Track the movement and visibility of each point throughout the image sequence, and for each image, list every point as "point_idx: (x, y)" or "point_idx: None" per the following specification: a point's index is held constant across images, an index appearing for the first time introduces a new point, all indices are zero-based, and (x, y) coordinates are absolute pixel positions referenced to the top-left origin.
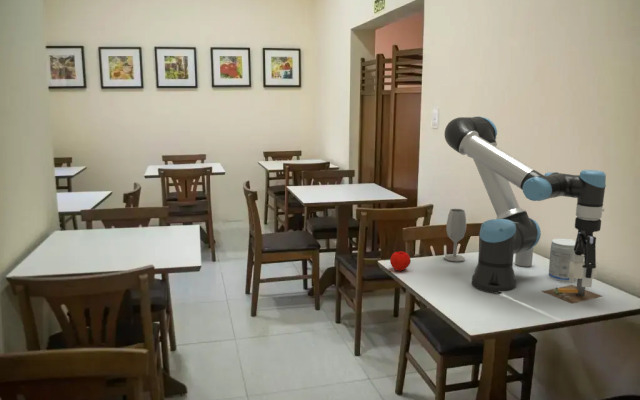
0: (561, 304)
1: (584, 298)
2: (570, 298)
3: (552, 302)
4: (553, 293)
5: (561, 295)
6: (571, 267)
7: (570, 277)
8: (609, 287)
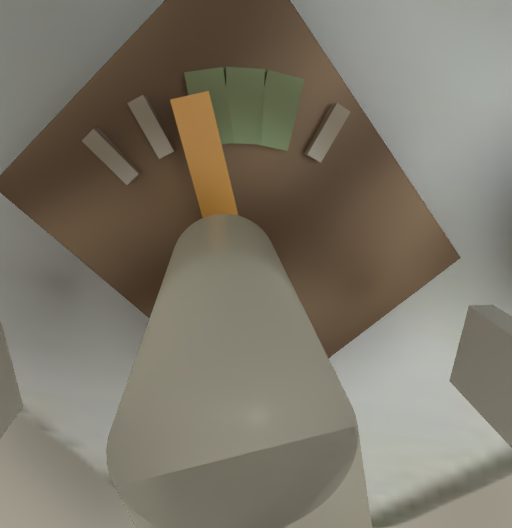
0: (19, 97)
1: None
2: (124, 192)
3: (34, 16)
4: (211, 55)
5: (135, 116)
6: (154, 311)
7: (183, 236)
8: (463, 451)
